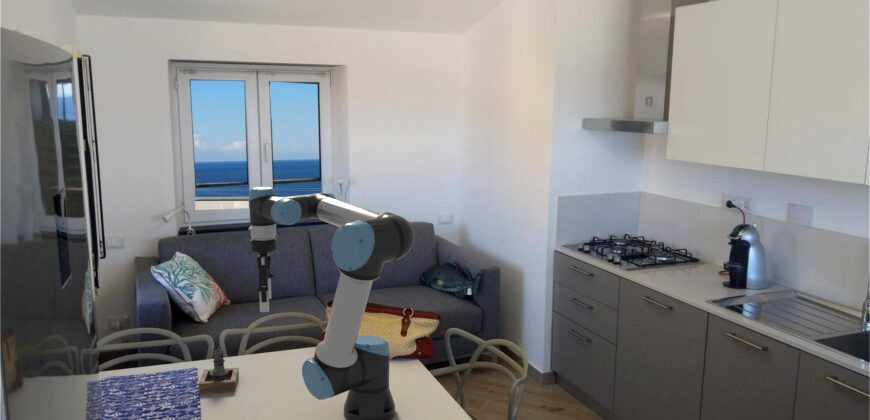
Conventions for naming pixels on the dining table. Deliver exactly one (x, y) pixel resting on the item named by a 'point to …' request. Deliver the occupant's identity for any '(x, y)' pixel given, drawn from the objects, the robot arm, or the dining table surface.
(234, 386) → the walnut holder
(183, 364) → the dining table surface
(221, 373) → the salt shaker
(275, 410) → the dining table surface
